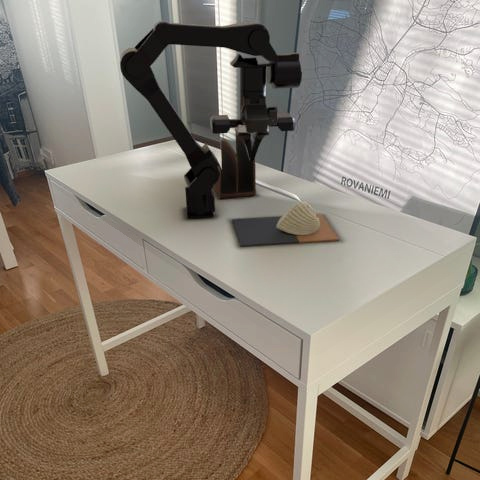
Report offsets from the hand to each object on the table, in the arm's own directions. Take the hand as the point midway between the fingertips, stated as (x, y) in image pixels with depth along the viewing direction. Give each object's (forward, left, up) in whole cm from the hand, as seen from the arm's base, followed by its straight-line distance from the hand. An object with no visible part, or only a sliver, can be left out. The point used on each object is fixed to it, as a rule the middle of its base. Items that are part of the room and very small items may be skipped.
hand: (251, 161), depth 115 cm
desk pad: (+5, -13, -12) cm, 19 cm away
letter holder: (-3, +18, -12) cm, 22 cm away
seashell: (+9, -14, -12) cm, 20 cm away
